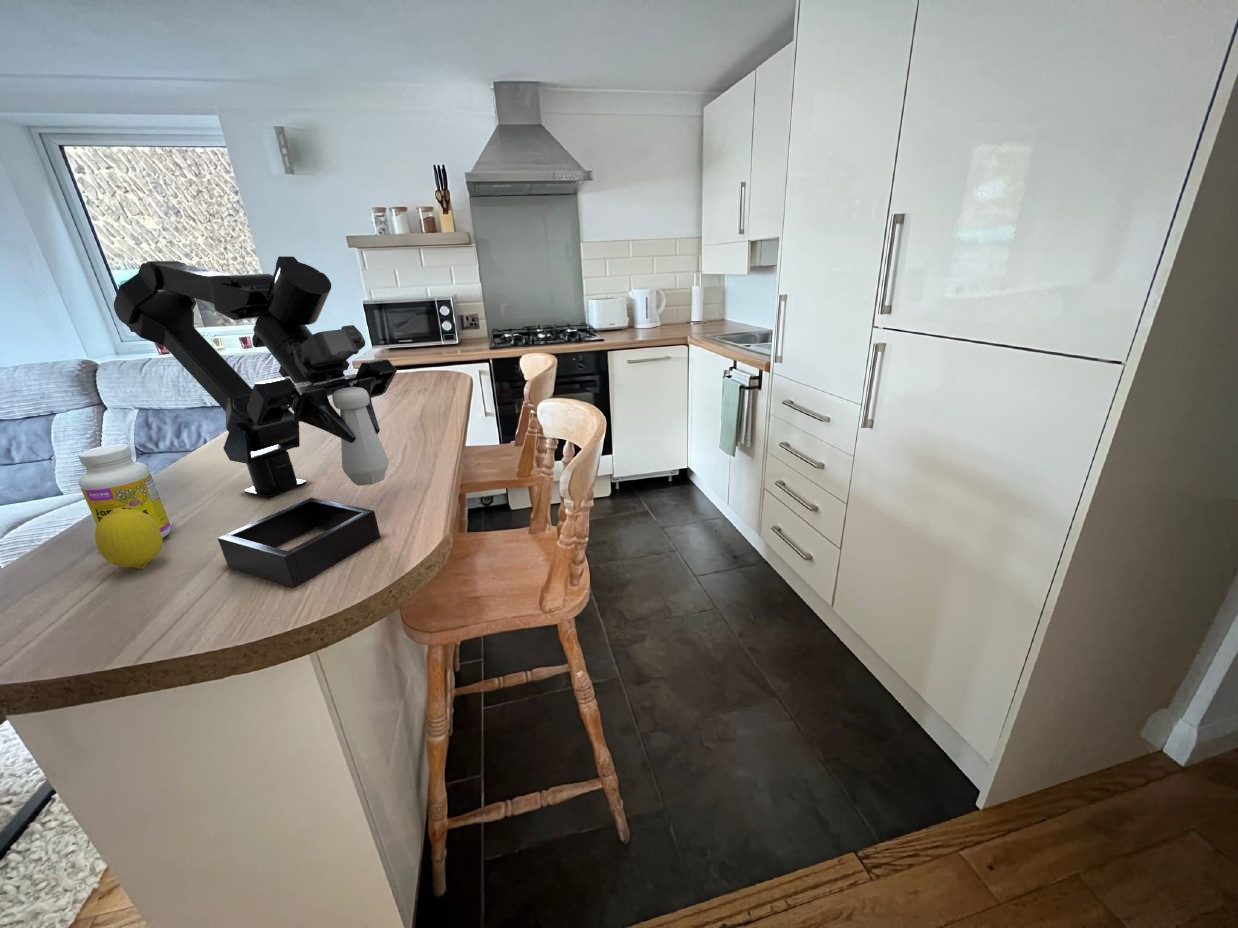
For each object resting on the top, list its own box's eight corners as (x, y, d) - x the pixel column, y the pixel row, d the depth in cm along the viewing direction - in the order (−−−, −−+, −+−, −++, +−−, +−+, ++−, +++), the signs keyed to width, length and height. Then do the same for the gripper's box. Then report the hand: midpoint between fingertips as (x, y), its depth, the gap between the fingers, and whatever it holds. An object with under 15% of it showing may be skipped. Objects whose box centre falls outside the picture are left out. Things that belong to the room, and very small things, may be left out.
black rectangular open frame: (227, 567, 61) (217, 537, 59) (318, 522, 71) (311, 497, 69) (294, 588, 56) (284, 557, 55) (380, 537, 66) (374, 510, 65)
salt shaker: (385, 486, 69) (365, 392, 64) (340, 490, 68) (317, 395, 63) (395, 470, 74) (377, 382, 69) (353, 473, 73) (332, 385, 68)
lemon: (136, 557, 64) (111, 500, 61) (182, 554, 64) (159, 497, 61) (98, 582, 58) (68, 521, 56) (148, 579, 59) (121, 517, 56)
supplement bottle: (99, 557, 64) (54, 463, 59) (118, 535, 69) (78, 447, 65) (165, 543, 67) (128, 452, 62) (179, 523, 72) (145, 438, 68)
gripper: (230, 313, 57) (313, 419, 56) (375, 301, 72) (442, 384, 71) (216, 377, 63) (290, 473, 62) (352, 354, 78) (413, 430, 77)
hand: (365, 436), depth 68 cm, fingers closed on salt shaker, 3 cm apart
